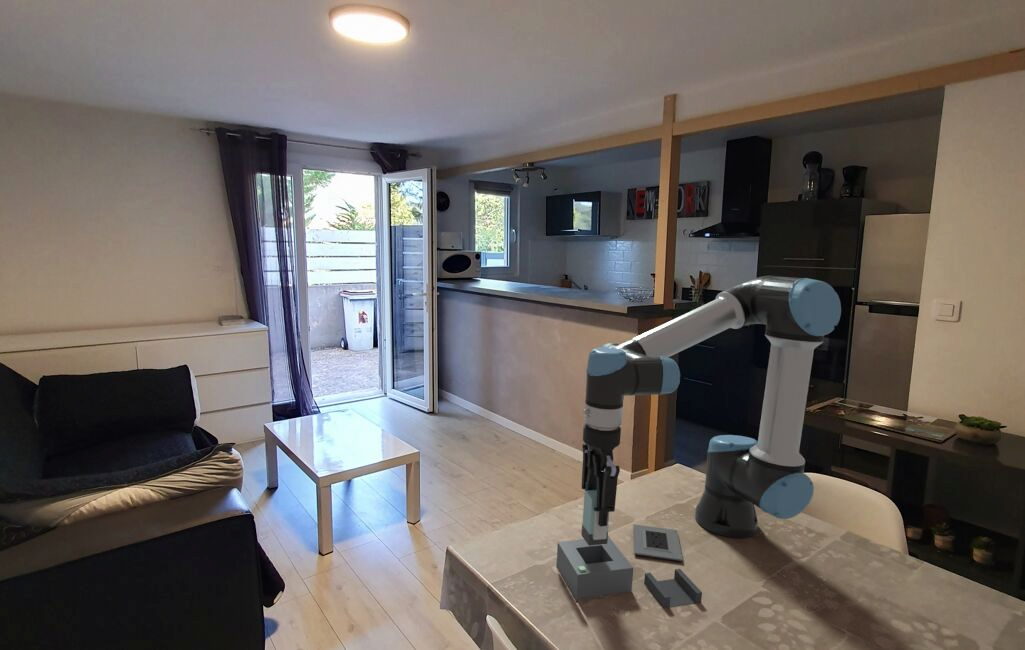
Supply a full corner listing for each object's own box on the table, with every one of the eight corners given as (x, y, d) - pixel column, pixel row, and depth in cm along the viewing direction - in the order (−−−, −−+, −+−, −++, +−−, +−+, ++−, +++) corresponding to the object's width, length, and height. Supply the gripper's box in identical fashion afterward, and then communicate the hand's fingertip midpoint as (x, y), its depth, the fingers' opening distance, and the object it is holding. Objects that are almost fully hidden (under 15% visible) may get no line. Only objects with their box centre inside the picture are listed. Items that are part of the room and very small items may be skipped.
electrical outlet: (681, 568, 120) (682, 558, 119) (633, 561, 122) (634, 551, 122) (676, 537, 133) (677, 528, 132) (632, 531, 135) (633, 523, 134)
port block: (606, 561, 121) (608, 534, 120) (631, 594, 109) (633, 565, 108) (556, 567, 118) (557, 540, 117) (576, 602, 106) (577, 572, 105)
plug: (599, 533, 115) (602, 489, 113) (607, 543, 111) (610, 498, 109) (581, 535, 114) (584, 490, 112) (588, 545, 110) (591, 499, 108)
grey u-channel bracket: (679, 581, 114) (680, 568, 114) (701, 606, 107) (702, 592, 106) (643, 586, 112) (644, 573, 112) (663, 611, 104) (664, 597, 104)
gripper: (570, 412, 116) (563, 513, 119) (602, 440, 99) (594, 557, 103) (602, 411, 118) (595, 510, 121) (639, 438, 101) (630, 553, 105)
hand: (594, 532), depth 112 cm, fingers closed on plug, 4 cm apart
